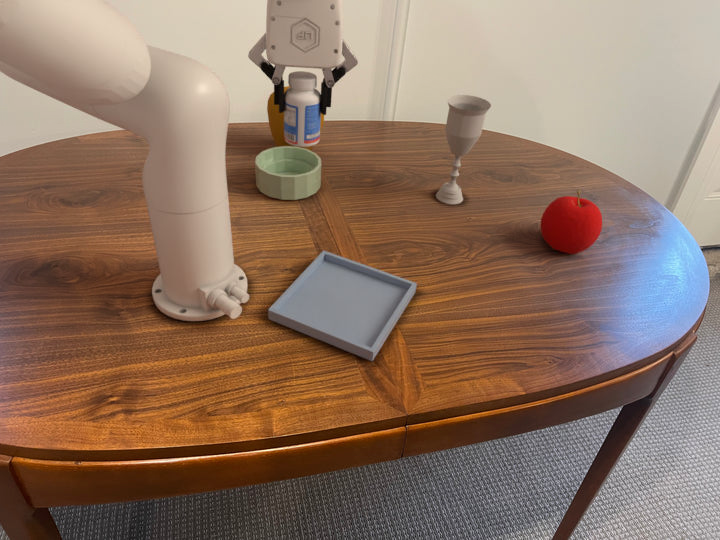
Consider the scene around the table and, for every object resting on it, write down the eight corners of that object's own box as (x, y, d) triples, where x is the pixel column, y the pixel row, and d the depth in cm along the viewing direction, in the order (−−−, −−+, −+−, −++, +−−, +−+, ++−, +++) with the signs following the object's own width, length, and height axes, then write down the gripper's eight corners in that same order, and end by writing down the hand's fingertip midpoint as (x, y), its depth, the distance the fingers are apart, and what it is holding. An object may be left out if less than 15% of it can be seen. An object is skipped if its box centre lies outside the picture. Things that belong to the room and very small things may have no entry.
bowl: (333, 186, 99) (334, 162, 96) (287, 209, 92) (287, 183, 89) (289, 164, 105) (289, 140, 102) (243, 184, 97) (241, 159, 94)
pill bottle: (319, 134, 84) (322, 71, 78) (319, 149, 80) (323, 83, 74) (284, 132, 83) (285, 68, 77) (282, 146, 79) (283, 80, 73)
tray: (415, 292, 77) (417, 283, 76) (372, 361, 66) (373, 352, 65) (323, 259, 82) (323, 250, 81) (268, 319, 71) (267, 309, 70)
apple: (332, 150, 111) (335, 88, 103) (301, 169, 103) (301, 104, 95) (290, 135, 115) (290, 74, 107) (257, 152, 108) (254, 88, 100)
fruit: (589, 236, 92) (610, 186, 86) (592, 267, 85) (616, 214, 79) (535, 225, 94) (552, 174, 88) (534, 254, 87) (552, 201, 81)
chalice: (438, 208, 96) (457, 111, 85) (424, 189, 101) (440, 95, 90) (475, 205, 98) (498, 110, 87) (460, 186, 103) (480, 94, 92)
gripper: (234, -30, 63) (241, 117, 74) (376, -18, 66) (363, 123, 77) (238, -40, 69) (244, 98, 80) (369, -29, 72) (357, 104, 83)
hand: (302, 109), depth 78 cm, fingers closed on pill bottle, 5 cm apart
